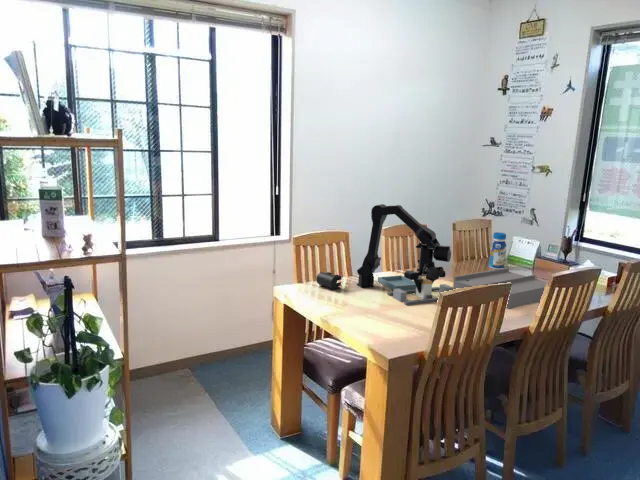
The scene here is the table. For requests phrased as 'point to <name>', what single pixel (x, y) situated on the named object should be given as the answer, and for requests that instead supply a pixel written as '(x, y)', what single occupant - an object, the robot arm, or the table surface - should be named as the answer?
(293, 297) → the table surface
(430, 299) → the fuse holder
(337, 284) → the electric motor
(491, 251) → the beverage bottle
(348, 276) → the table surface
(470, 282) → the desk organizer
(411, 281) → the tray
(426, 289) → the fuse
